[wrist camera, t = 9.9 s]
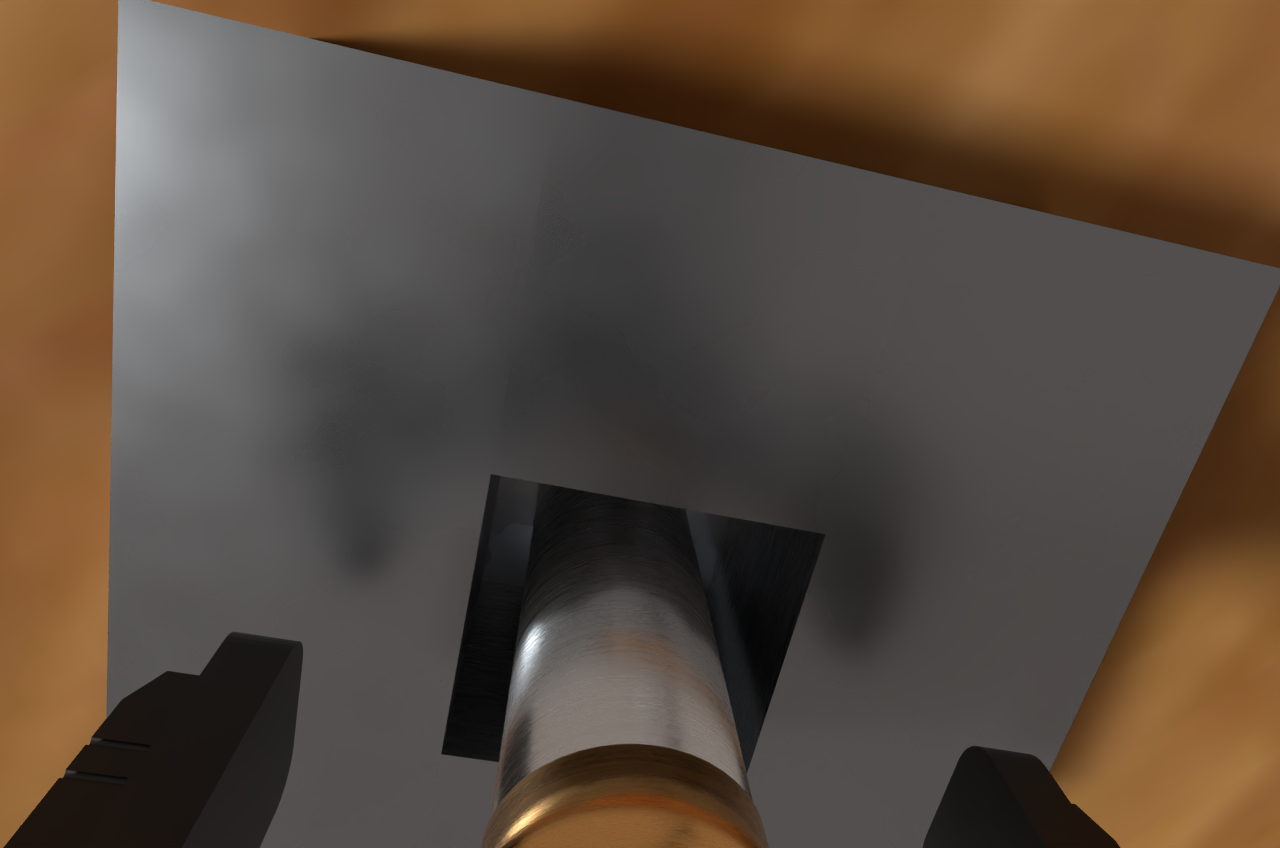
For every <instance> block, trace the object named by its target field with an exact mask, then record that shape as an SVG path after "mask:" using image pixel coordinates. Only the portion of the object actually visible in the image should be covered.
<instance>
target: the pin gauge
mask: <svg viewBox="0 0 1280 848" xmlns="http://www.w3.org/2000/svg"><path fill="white" fill-rule="evenodd" d="M481 848H769V847H768V842H767V838H766V834H765V830H764V826H763V822H762V819H761V817H760V815H759V812H758V810H757V808H756V806H755V805H754V803H753V800H752V795H751V791H750V787H749V782H748V778H747V774H746V769H745V765H744V761H743V756H742V752H741V748H740V743H739V739H738V735H737V730H736V726H735V722H734V717H733V713H732V708H731V704H730V700H729V695H728V691H727V687H726V682H725V678H724V674H723V669H722V665H721V661H720V656H719V652H718V648H717V643H716V639H715V635H714V630H713V626H712V622H711V617H710V613H709V609H708V604H707V600H706V596H705V591H704V587H703V583H702V578H701V574H700V570H699V565H698V561H697V557H696V552H695V548H694V544H693V539H692V535H691V531H690V526H689V522H688V518H687V513H686V509H682V508H676V507H671V506H665V505H660V504H654V503H649V502H643V501H638V500H632V499H626V498H621V497H615V496H610V495H604V494H599V493H593V492H588V491H582V490H576V489H571V488H565V487H560V486H554V485H549V484H543V483H539V489H538V496H537V503H536V510H535V517H534V524H533V530H532V537H531V544H530V551H529V558H528V565H527V572H526V579H525V585H524V592H523V599H522V606H521V613H520V620H519V627H518V634H517V640H516V647H515V654H514V661H513V668H512V675H511V682H510V689H509V695H508V702H507V709H506V716H505V723H504V730H503V737H502V743H501V750H500V757H499V764H498V771H497V778H496V785H495V792H494V798H493V805H492V812H491V818H490V821H489V823H488V825H487V827H486V830H485V833H484V837H483V840H482V846H481Z"/></svg>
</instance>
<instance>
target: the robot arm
mask: <svg viewBox="0 0 1280 848" xmlns="http://www.w3.org/2000/svg"><path fill="white" fill-rule="evenodd" d="M302 663H303V645H302V643H301V642H300V641H293V640H287V639H280V638H274V637H267V636H260V635H254V634H247V633H241V632H231V633H230V634H229V635H228V636H227V637H226V638H225V639H224V641H223V642H222V644H221V645H220V647H219V648H218V649H217V651H216V652H215V654H214V655H213V657H212V658H211V660H210V661H209V662H208V664H207V665H206V667H205V668H204V670H203V671H202V672H201V674H200V675H193V674H186V673H180V672H173V671H166V672H165V673H163V674H162V675H160V676H158V677H157V678H155V679H154V680H152V681H150V682H149V683H147V684H146V685H144V686H142V687H141V688H139V689H138V690H136V691H134V692H133V693H131V694H130V695H128V696H127V697H125V698H123V699H122V700H121V701H120V702H119V704H118V705H117V706H116V707H115V709H114V710H113V711H112V712H111V714H110V715H109V716H108V717H107V719H106V720H105V721H104V722H103V724H102V725H101V726H100V727H99V729H98V730H97V731H96V732H95V734H94V735H93V736H92V739H91V742H90V744H89V745H85V746H84V748H83V749H82V750H81V751H80V753H79V754H78V755H77V756H76V758H75V759H74V760H73V761H72V763H71V764H70V765H69V766H68V768H67V769H66V772H65V775H64V777H63V778H59V779H58V780H57V781H56V783H55V784H54V785H53V786H52V788H51V789H50V790H49V791H48V793H47V794H46V795H45V796H44V798H43V799H42V800H41V801H40V803H39V804H38V805H37V806H36V808H35V809H34V810H33V811H32V813H31V814H30V815H29V816H28V818H27V819H26V820H25V821H24V823H23V824H22V825H21V826H20V828H19V829H18V830H17V831H16V833H15V834H14V835H13V836H12V838H11V839H10V840H9V841H8V843H7V844H6V845H5V846H4V848H260V846H261V844H262V841H263V839H264V837H265V835H266V833H267V830H268V828H269V826H270V824H271V822H272V819H273V817H274V815H275V813H276V810H277V808H278V805H279V803H280V800H281V797H282V794H283V791H284V788H285V785H286V781H287V777H288V774H289V769H290V765H291V760H292V754H293V747H294V738H295V729H296V719H297V710H298V701H299V691H300V682H301V672H302ZM923 848H1120V847H1119V845H1118V844H1117V842H1116V841H1115V840H1114V839H1113V838H1112V837H1111V836H1110V835H1109V834H1107V833H1106V832H1105V831H1104V830H1103V829H1102V828H1101V827H1100V826H1099V825H1098V824H1096V823H1095V822H1094V821H1093V820H1092V819H1091V818H1090V817H1089V816H1088V815H1087V814H1085V813H1084V812H1083V811H1082V810H1081V809H1080V808H1079V807H1078V806H1077V805H1076V804H1071V803H1070V801H1069V800H1068V798H1067V797H1066V795H1065V794H1064V793H1063V791H1062V790H1061V788H1060V787H1059V785H1058V784H1057V782H1056V781H1055V780H1054V778H1053V777H1052V775H1051V774H1050V772H1049V771H1048V769H1047V768H1046V766H1045V765H1044V764H1043V763H1042V761H1041V760H1040V759H1038V758H1037V757H1036V756H1034V755H1032V754H1026V753H1020V752H1013V751H1006V750H1000V749H993V748H987V747H980V746H971V747H969V748H967V749H966V750H965V751H964V752H963V753H962V755H961V756H960V758H959V760H958V762H957V765H956V767H955V769H954V772H953V774H952V776H951V779H950V781H949V783H948V786H947V788H946V790H945V793H944V795H943V797H942V800H941V802H940V804H939V807H938V809H937V811H936V814H935V816H934V818H933V821H932V823H931V825H930V828H929V830H928V832H927V835H926V837H925V840H924V844H923Z"/></svg>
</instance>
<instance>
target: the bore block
mask: <svg viewBox="0 0 1280 848" xmlns="http://www.w3.org/2000/svg"><path fill="white" fill-rule="evenodd" d="M1279 287H1280V268H1277V267H1273V266H1268V265H1264V264H1260V263H1256V262H1251V261H1247V260H1243V259H1239V258H1235V257H1230V256H1226V255H1222V254H1218V253H1213V252H1209V251H1205V250H1201V249H1197V248H1192V247H1188V246H1184V245H1180V244H1175V243H1171V242H1167V241H1163V240H1159V239H1154V238H1150V237H1146V236H1142V235H1137V234H1133V233H1129V232H1125V231H1121V230H1116V229H1112V228H1108V227H1104V226H1099V225H1095V224H1091V223H1087V222H1083V221H1078V220H1074V219H1070V218H1066V217H1061V216H1057V215H1053V214H1049V213H1045V212H1040V211H1036V210H1032V209H1028V208H1023V207H1019V206H1015V205H1011V204H1007V203H1002V202H998V201H994V200H990V199H985V198H981V197H977V196H973V195H969V194H964V193H960V192H956V191H952V190H947V189H943V188H939V187H935V186H931V185H926V184H922V183H918V182H914V181H910V180H905V179H901V178H897V177H893V176H888V175H884V174H880V173H876V172H872V171H867V170H863V169H859V168H855V167H850V166H846V165H842V164H838V163H834V162H829V161H825V160H821V159H817V158H812V157H808V156H804V155H800V154H796V153H791V152H787V151H783V150H779V149H774V148H770V147H766V146H762V145H758V144H753V143H749V142H745V141H741V140H736V139H732V138H728V137H724V136H720V135H715V134H711V133H707V132H703V131H698V130H694V129H690V128H686V127H682V126H677V125H673V124H669V123H665V122H660V121H656V120H652V119H648V118H644V117H639V116H635V115H631V114H627V113H622V112H618V111H614V110H610V109H606V108H601V107H597V106H593V105H589V104H584V103H580V102H576V101H572V100H568V99H563V98H559V97H555V96H551V95H546V94H542V93H538V92H534V91H530V90H525V89H521V88H517V87H513V86H509V85H504V84H500V83H496V82H492V81H487V80H483V79H479V78H475V77H471V76H466V75H462V74H458V73H454V72H449V71H445V70H441V69H437V68H433V67H428V66H424V65H420V64H416V63H411V62H407V61H403V60H399V59H395V58H390V57H386V56H382V55H378V54H373V53H369V52H365V51H361V50H357V49H352V48H348V47H344V46H340V45H335V44H331V43H327V42H323V41H319V40H314V39H310V38H306V37H302V36H297V35H293V34H289V33H285V32H281V31H276V30H272V29H268V28H264V27H259V26H255V25H251V24H247V23H243V22H238V21H234V20H230V19H226V18H221V17H217V16H213V15H209V14H205V13H200V12H196V11H192V10H188V9H183V8H179V7H175V6H171V5H167V4H162V3H158V2H154V1H150V0H119V2H118V62H117V123H116V183H115V244H114V304H113V364H112V425H111V485H110V546H109V606H108V667H107V717H108V716H109V715H110V714H111V712H112V711H113V710H114V709H115V707H116V706H117V705H118V704H119V702H120V701H121V700H122V699H123V698H125V697H127V696H128V695H130V694H131V693H133V692H134V691H136V690H138V689H139V688H141V687H142V686H144V685H146V684H147V683H149V682H150V681H152V680H154V679H155V678H157V677H158V676H160V675H162V674H163V673H165V672H166V671H173V672H180V673H186V674H193V675H200V674H201V672H202V671H203V670H204V668H205V667H206V665H207V664H208V662H209V661H210V660H211V658H212V657H213V655H214V654H215V652H216V651H217V649H218V648H219V647H220V645H221V644H222V642H223V641H224V639H225V638H226V637H227V636H228V635H229V634H230V633H231V632H241V633H247V634H254V635H260V636H267V637H274V638H280V639H287V640H293V641H300V642H301V643H302V645H303V663H302V672H301V682H300V691H299V701H298V710H297V719H296V729H295V738H294V747H293V754H292V760H291V765H290V769H289V774H288V777H287V781H286V785H285V788H284V791H283V794H282V797H281V800H280V803H279V805H278V808H277V810H276V813H275V815H274V817H273V819H272V822H271V824H270V826H269V828H268V830H267V833H266V835H265V837H264V839H263V841H262V844H261V846H260V848H481V846H482V840H483V837H484V833H485V830H486V827H487V825H488V823H489V821H490V818H491V812H492V805H493V798H494V792H495V785H496V778H497V771H498V764H499V757H500V750H501V743H502V737H503V730H504V723H505V716H506V709H507V702H508V695H509V689H510V682H511V675H512V668H513V661H514V654H515V647H516V640H517V634H518V627H519V620H520V613H521V606H522V599H523V592H524V585H525V579H526V572H527V565H528V558H529V551H530V544H531V537H532V530H533V524H534V517H535V510H536V503H537V496H538V489H539V483H543V484H549V485H554V486H560V487H565V488H571V489H576V490H582V491H588V492H593V493H599V494H604V495H610V496H615V497H621V498H626V499H632V500H638V501H643V502H649V503H654V504H660V505H665V506H671V507H676V508H682V509H686V513H687V518H688V522H689V526H690V531H691V535H692V539H693V544H694V548H695V552H696V557H697V561H698V565H699V570H700V574H701V578H702V583H703V587H704V591H705V596H706V600H707V604H708V609H709V613H710V617H711V622H712V626H713V630H714V635H715V639H716V643H717V648H718V652H719V656H720V661H721V665H722V669H723V674H724V678H725V682H726V687H727V691H728V695H729V700H730V704H731V708H732V713H733V717H734V722H735V726H736V730H737V735H738V739H739V743H740V748H741V752H742V756H743V761H744V765H745V769H746V774H747V778H748V782H749V787H750V791H751V795H752V800H753V803H754V805H755V806H756V808H757V810H758V812H759V815H760V817H761V819H762V822H763V826H764V830H765V834H766V838H767V842H768V847H769V848H923V844H924V840H925V837H926V835H927V832H928V830H929V828H930V825H931V823H932V821H933V818H934V816H935V814H936V811H937V809H938V807H939V804H940V802H941V800H942V797H943V795H944V793H945V790H946V788H947V786H948V783H949V781H950V779H951V776H952V774H953V772H954V769H955V767H956V765H957V762H958V760H959V758H960V756H961V755H962V753H963V752H964V751H965V750H966V749H967V748H969V747H971V746H980V747H987V748H993V749H1000V750H1006V751H1013V752H1020V753H1026V754H1032V755H1034V756H1036V757H1037V758H1038V759H1040V760H1041V761H1042V763H1043V764H1044V765H1045V766H1046V768H1047V769H1048V771H1050V769H1051V767H1052V765H1053V763H1054V761H1055V759H1056V756H1057V754H1058V752H1059V750H1060V748H1061V746H1062V744H1063V742H1064V740H1065V737H1066V735H1067V733H1068V731H1069V729H1070V727H1071V725H1072V723H1073V721H1074V719H1075V716H1076V714H1077V712H1078V710H1079V708H1080V706H1081V704H1082V702H1083V700H1084V697H1085V695H1086V693H1087V691H1088V689H1089V687H1090V685H1091V683H1092V681H1093V679H1094V676H1095V674H1096V672H1097V670H1098V668H1099V666H1100V664H1101V662H1102V660H1103V657H1104V655H1105V653H1106V651H1107V649H1108V647H1109V645H1110V643H1111V641H1112V639H1113V636H1114V634H1115V632H1116V630H1117V628H1118V626H1119V624H1120V622H1121V620H1122V617H1123V615H1124V613H1125V611H1126V609H1127V607H1128V605H1129V603H1130V601H1131V599H1132V596H1133V594H1134V592H1135V590H1136V588H1137V586H1138V584H1139V582H1140V580H1141V577H1142V575H1143V573H1144V571H1145V569H1146V567H1147V565H1148V563H1149V561H1150V559H1151V556H1152V554H1153V552H1154V550H1155V548H1156V546H1157V544H1158V542H1159V540H1160V537H1161V535H1162V533H1163V531H1164V529H1165V527H1166V525H1167V523H1168V521H1169V519H1170V516H1171V514H1172V512H1173V510H1174V508H1175V506H1176V504H1177V502H1178V500H1179V497H1180V495H1181V493H1182V491H1183V489H1184V487H1185V485H1186V483H1187V481H1188V479H1189V476H1190V474H1191V472H1192V470H1193V468H1194V466H1195V464H1196V462H1197V460H1198V457H1199V455H1200V453H1201V451H1202V449H1203V447H1204V445H1205V443H1206V441H1207V439H1208V436H1209V434H1210V432H1211V430H1212V428H1213V426H1214V424H1215V422H1216V420H1217V417H1218V415H1219V413H1220V411H1221V409H1222V407H1223V405H1224V403H1225V401H1226V399H1227V396H1228V394H1229V392H1230V390H1231V388H1232V386H1233V384H1234V382H1235V380H1236V377H1237V375H1238V373H1239V371H1240V369H1241V367H1242V365H1243V363H1244V361H1245V359H1246V356H1247V354H1248V352H1249V350H1250V348H1251V346H1252V344H1253V342H1254V340H1255V337H1256V335H1257V333H1258V331H1259V329H1260V327H1261V325H1262V323H1263V321H1264V318H1265V316H1266V314H1267V312H1268V310H1269V308H1270V306H1271V304H1272V302H1273V300H1274V297H1275V295H1276V293H1277V291H1278V289H1279Z"/></svg>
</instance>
